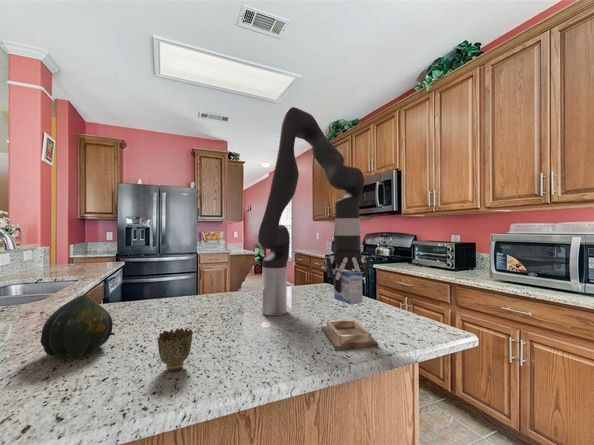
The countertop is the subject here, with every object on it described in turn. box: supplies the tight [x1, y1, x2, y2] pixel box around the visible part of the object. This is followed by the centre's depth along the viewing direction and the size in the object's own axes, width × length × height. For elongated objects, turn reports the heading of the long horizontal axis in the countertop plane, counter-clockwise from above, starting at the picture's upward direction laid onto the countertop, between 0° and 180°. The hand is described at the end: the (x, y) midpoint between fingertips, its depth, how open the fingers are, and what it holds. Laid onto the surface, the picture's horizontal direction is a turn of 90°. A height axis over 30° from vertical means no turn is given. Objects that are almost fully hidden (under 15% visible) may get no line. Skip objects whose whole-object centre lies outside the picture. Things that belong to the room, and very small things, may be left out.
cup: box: [156, 327, 194, 372], centre depth 65 cm, size 8×7×8 cm
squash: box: [40, 294, 114, 360], centre depth 73 cm, size 14×15×15 cm
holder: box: [320, 319, 379, 351], centre depth 83 cm, size 12×15×3 cm
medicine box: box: [333, 269, 363, 305], centre depth 83 cm, size 8×4×9 cm, turn 28°
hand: (347, 291), depth 83 cm, fingers closed on medicine box, 5 cm apart
